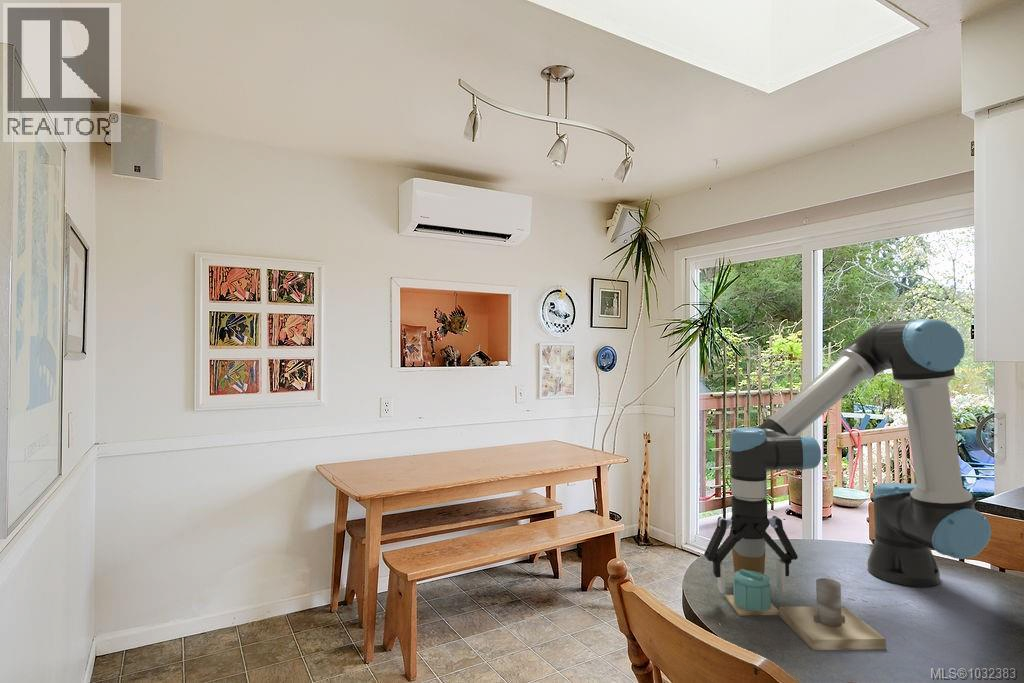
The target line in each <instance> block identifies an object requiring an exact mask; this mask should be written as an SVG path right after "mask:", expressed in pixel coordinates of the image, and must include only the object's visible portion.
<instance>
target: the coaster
mask: <svg viewBox="0 0 1024 683" xmlns="http://www.w3.org/2000/svg"><path fill="white" fill-rule="evenodd" d="M724 599H725V600H726V601H727V602H728V604H729V605H730V606H731V608H732V609H733V610H734V611H735V612H736V613H737V614H738V616H780V615H779V608H777V607H776V606H775V605H774V604H773V602H771V608H770V609H767V610H764V611H752V610H746V609H744V608H741V607H739V606H737V605H735V602H734V594H724Z"/></svg>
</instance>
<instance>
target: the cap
mask: <svg viewBox="0 0 1024 683" xmlns="http://www.w3.org/2000/svg"><path fill="white" fill-rule="evenodd" d="M732 580H733V582H732V584H733V585H732V586H733V587H732V588H733V595H734V602H735V605H737V606H739V607H741V608H744V609H746V610H752V611H764V610H767V609H770V608H771V603H772V602H771V584H770V578H769V576H768V575H766V574H765V573H764V574H762V573H759V572H755V571H748V570H745V569H741V570H740V571H737V572H734V573H733V577H732Z"/></svg>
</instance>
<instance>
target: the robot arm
mask: <svg viewBox="0 0 1024 683" xmlns="http://www.w3.org/2000/svg"><path fill="white" fill-rule="evenodd" d="M838 354H839V355H838V356H839V358H837V359H836V360H835V361H834V362H833V363H831V365H829V366H828V367H827V368H826V369H825V370H823V371H822V372H820V374H818V376H816V377H815V378H814V379H813V380H811V382H809V383H808V384H807V385H806V386H805V387H804V388H803V389H800V391H798V392H797V394H795V395H794V396H793V397H792V398H790V399H789V400H788V401H787V402H786V403H785V404H784V405H783V406H781V407H780V408H779V409H778V410H777V411H775V412H774V413H773V414H772V415H771V416H770V417H768V419H766V420H765V421H764V422H762V423H761V424H760V425H755V426H750V427H735V428H733V429H732V430H731V431H730V438H729V440H730V441H729V452H730V453H729V455H730V456H729V457H730V485H731V486H730V488H731V489H730V490H731V492H730V493H731V495H732V496H731V498H730V499H731V500H730V501H731V517H730V518H723V517H722V516H719V517H718V518H717V525H716V527H715V530H714V532H713V534H712V537H711V539H710V540H709V543H708V545H707V546H706V549H705V551H704V554H703V555H704V557H705V558H706V560H708V561H709V562H712V574H713V576H714V577H715V578H716V580H717V584H716V585H717V590H718V591H719V592H720V593H721V594H722V595H723V594H724V595H726V577H725V572H726V571H725V569H726V568H725V563H724V562H723V561H724V559H725V558H726V556H727V555H728V554H729V553H730V552H731V551H732V548H733V547H734V546H735V544H736V543H737V542H739V541H740V540H741V539H742V538H744V539H751V538H753V539H759V538H760V537H762V538H763V539H764V540H765V543H766V544H768V546H769V547H770V548H771V550H772V551H773V552H774V553H775V554H776V555H777V556H778V557H779V558H776V559H775V560H776V561H775V562H776V563H775V564H776V588H777V589H778V590H779V591H780V592H781V593H783V594H784V593H787V586H786V585H787V583H786V582H787V581H786V577H789V575H790V565H791V563H792V561H793V560H794V561H797V560H798V557H799V556H798V554H797V553H796V550H795V549H794V547H793V545H792V543H791V540H790V538H789V537H788V535H787V533H786V531H785V529H784V526H783V520H782V519H781V518H779V517H778V516H776V515H773V516H772V517H770V518H768V499H767V497H768V484H767V480H768V479H767V478H768V477H767V476H768V475H767V471H781V470H782V471H791V470H794V471H795V470H801V471H804V470H809V469H810V470H811V469H815V468H818V466H819V465H820V463H821V460H822V451H821V446H820V444H819V442H818V441H817V440H816V439H815V438H814V437H813V436H810V435H801V433H802V432H804V431H805V430H806V429H808V428H809V427H810V426H811V425H812V424H813V423H814V422H815V421H817V420H818V419H819V418H820V417H821V416H822V415H824V414H825V413H826V412H827V411H828V410H830V409H831V408H832V407H833V406H834V405H835V404H837V403H838V402H839V401H840V400H841V399H843V398H845V396H846V395H847V394H849V393H850V392H851V391H852V390H853V389H854V388H856V386H858V385H859V384H860V383H862V381H864V380H871V379H873V378H875V377H876V376H877V375H878V374H879V373H881V372H884V371H887V370H890V369H891V371H892V377H893V378H892V379H893V381H895V382H896V383H898V384H899V385H900V386H901V387H902V392H903V394H902V395H903V399H904V400H903V401H904V406H905V414H906V421H907V427H908V434H909V444H910V449H911V456H912V461H913V462H912V463H913V470H914V476H915V483H905V482H904V483H903V482H886V483H885V482H884V483H879V484H877V485H875V486H874V489H873V497H872V500H873V517H874V518H873V519H874V520H873V523H874V542H873V545H872V548H871V551H870V553H869V557H868V559H867V571H868V572H869V573H870V574H871V575H873V576H875V577H876V578H879V579H881V580H883V581H887V582H890V583H893V584H897V585H903V586H908V587H920V588H926V587H927V588H928V587H935V586H937V585H939V584H940V583H941V574H940V569H939V567H938V565H937V562H936V559H935V558H934V554H933V552H932V550H934V551H935V552H937V553H938V554H940V555H944V556H948V557H951V558H954V559H958V560H959V559H960V560H966V559H971V558H975V556H977V555H979V554H980V553H981V552H982V551H983V549H984V548H987V546H988V544H989V542H990V539H991V536H992V534H991V533H992V528H991V527H992V526H991V523H990V521H989V519H988V518H987V517H986V516H985V515H984V514H983V513H982V512H981V511H979V510H976V509H975V503H974V497H973V494H972V493H971V492H970V491H968V490H967V489H966V488H964V487H963V478H962V474H961V467H960V466H961V464H960V459H959V453H958V446H957V445H958V444H957V438H956V433H955V432H956V431H955V426H954V417H953V411H952V405H951V397H950V389H949V383H950V381H951V380H953V378H954V377H955V376H956V373H955V368H956V367H957V366H958V365H960V363H961V361H962V360H961V359H964V355H965V342H964V340H963V337H962V336H961V334H960V332H959V331H958V329H956V328H955V327H954V325H953V326H952V325H951V324H950V323H948V322H947V321H945V320H942V319H935V318H934V319H931V318H918V319H915V318H914V319H907V320H891V321H883V322H882V323H878V324H875V325H874V326H872V327H870V328H869V329H867V330H866V331H865V332H863V333H862V334H860V335H858V336H857V337H856V338H855V339H853V340H852V341H851V342H850V343H848V344H847V345H846V346H845V347H844V348H843V349H842V350H840V351H839V353H838ZM731 526H732V527H733V529H732V531H731V532H730V531H729V533H728V534H729V535H728V536H727V537H726V539H725V540H724V541H723V538H724V537H725V535H726V532H727V530H728V529H729V527H731ZM770 526H771V527H772V528H773V529H774V531H775V533H776V535H777V538H778V539H779V541H780V542H781V544H782V547H783V549H784V550H785V552H786V553H785V552H784V551H783V549H782V548H781V547H780V546H779V545H778V544H777V543H776V542H775V541H774V539H773V538H772V537H771V536H770V535H769V533H768V532H767V529H768V528H769V527H770ZM722 541H723V542H722ZM721 543H722V544H721Z"/></svg>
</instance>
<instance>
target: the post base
mask: <svg viewBox="0 0 1024 683" xmlns="http://www.w3.org/2000/svg"><path fill="white" fill-rule="evenodd" d="M815 582H816V583H815V586H816V606H813V605H812V606H810V605H809V606H779V607H778V610H779V615H778V616H779V617H780V618H781V619H782V620H783V621H784V622H785V623H786V624H787V625H788V626H789V627H790V628H791V629H792V630H793V631H794V632H795V634H797V636H798V637H800V638H801V640H802V641H804V643H806V645H807V646H808V647H809V648H811V649H812V651H839V650H840V651H843V650H844V651H846V650H848V651H849V650H850V651H851V650H852V651H854V650H856V651H857V650H887V639H886V638H885V637H884V636H883V635H882V634H881V633H879V632H878V631H877V630H875V629H874V628H873V627H872V626H870V625H869V624H868V623H867V622H865V621H863V620H862V619H861V618H860V617H859V616H857V614H855V613H853V612H852V611H851V610H849V609H848V608H847V607H846V606H844V605H842V589H841V588H842V586H841V583H840V582H839V581H838V580H834V579H832V578H831V579H830V578H817V579H816V581H815Z"/></svg>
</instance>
